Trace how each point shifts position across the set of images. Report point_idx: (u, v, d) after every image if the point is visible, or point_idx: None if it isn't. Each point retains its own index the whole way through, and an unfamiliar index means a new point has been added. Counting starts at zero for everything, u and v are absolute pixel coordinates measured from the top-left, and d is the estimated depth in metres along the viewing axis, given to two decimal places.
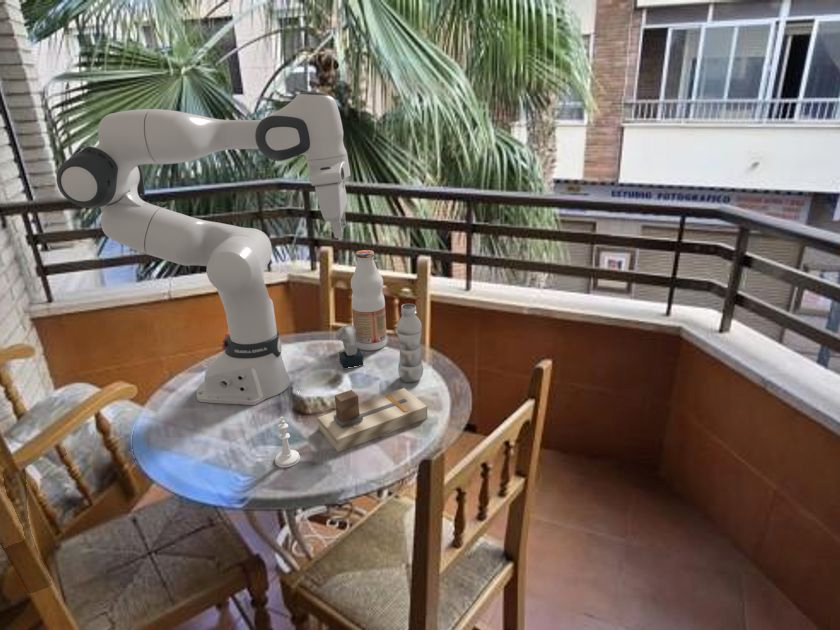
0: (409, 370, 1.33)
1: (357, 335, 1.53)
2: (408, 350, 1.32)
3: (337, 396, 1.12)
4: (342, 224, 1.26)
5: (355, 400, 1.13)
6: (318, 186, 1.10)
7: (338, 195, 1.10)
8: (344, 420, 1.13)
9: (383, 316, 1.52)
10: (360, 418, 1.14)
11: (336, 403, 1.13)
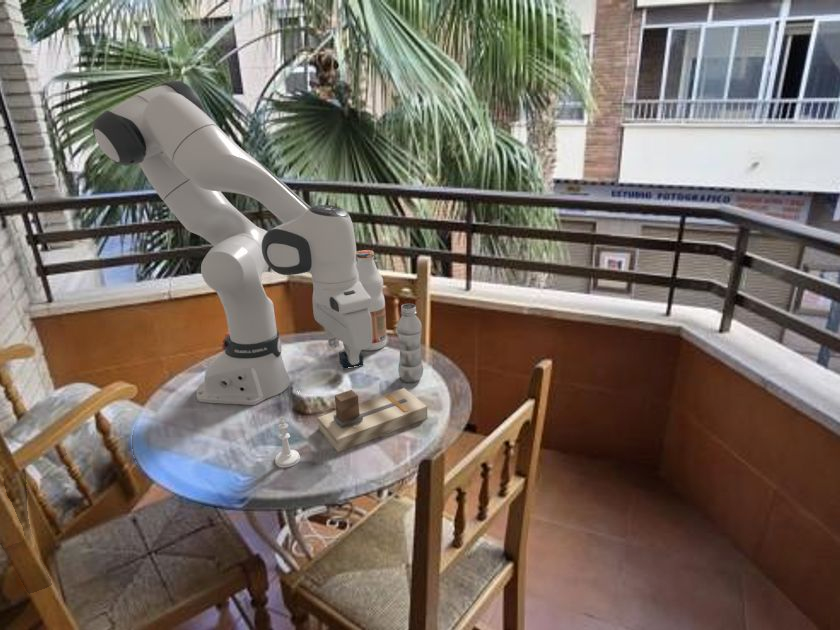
0: (409, 370, 1.33)
1: None
2: (408, 350, 1.32)
3: (337, 396, 1.12)
4: (335, 343, 1.12)
5: (355, 400, 1.13)
6: (347, 314, 0.97)
7: (371, 322, 0.99)
8: (344, 420, 1.13)
9: (383, 316, 1.52)
10: (360, 418, 1.14)
11: (336, 403, 1.13)
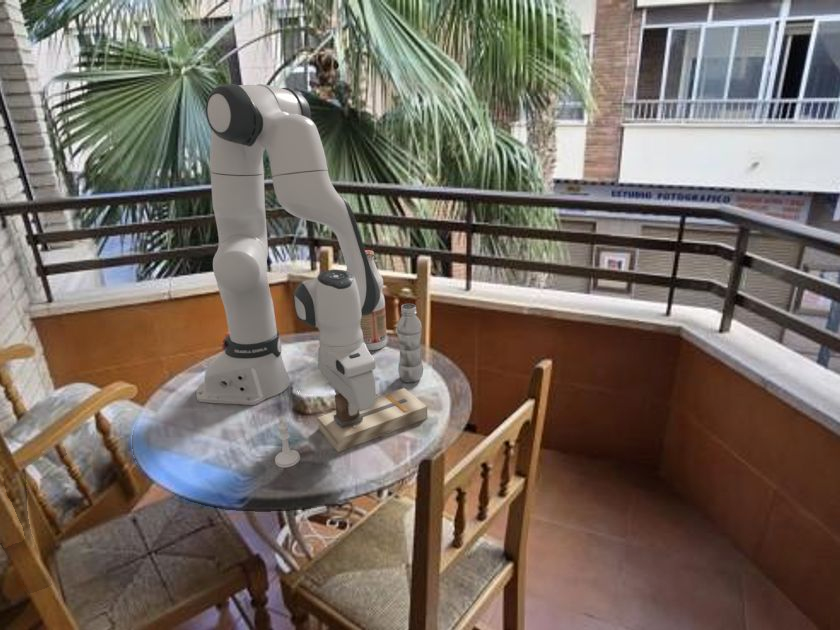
0: (409, 370, 1.33)
1: None
2: (408, 350, 1.32)
3: (337, 396, 1.12)
4: None
5: None
6: (352, 377, 1.02)
7: (374, 384, 1.04)
8: (344, 420, 1.13)
9: (383, 316, 1.52)
10: (360, 418, 1.14)
11: (336, 403, 1.13)
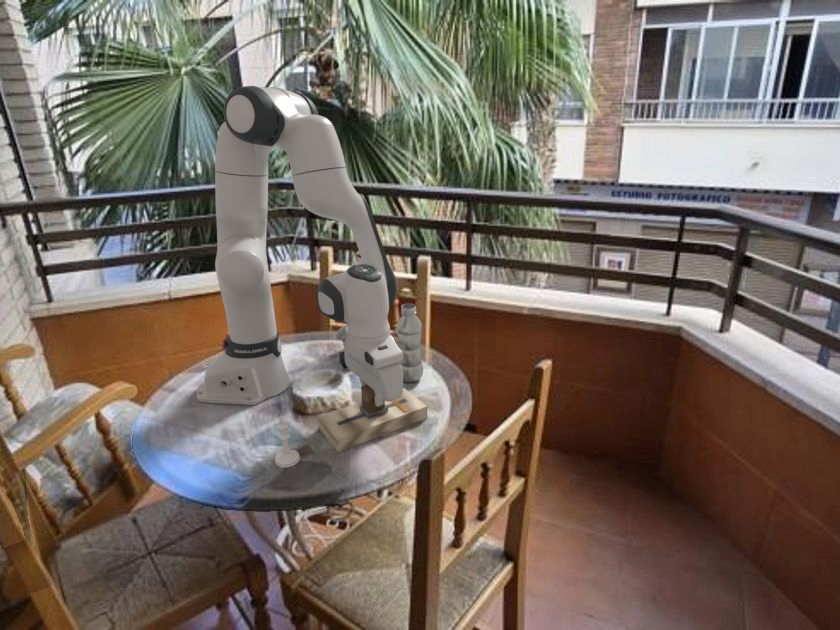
0: (409, 370, 1.33)
1: None
2: (408, 350, 1.32)
3: (363, 387, 1.16)
4: None
5: None
6: (381, 368, 1.05)
7: (402, 375, 1.07)
8: (370, 411, 1.16)
9: None
10: (385, 409, 1.17)
11: (363, 394, 1.16)
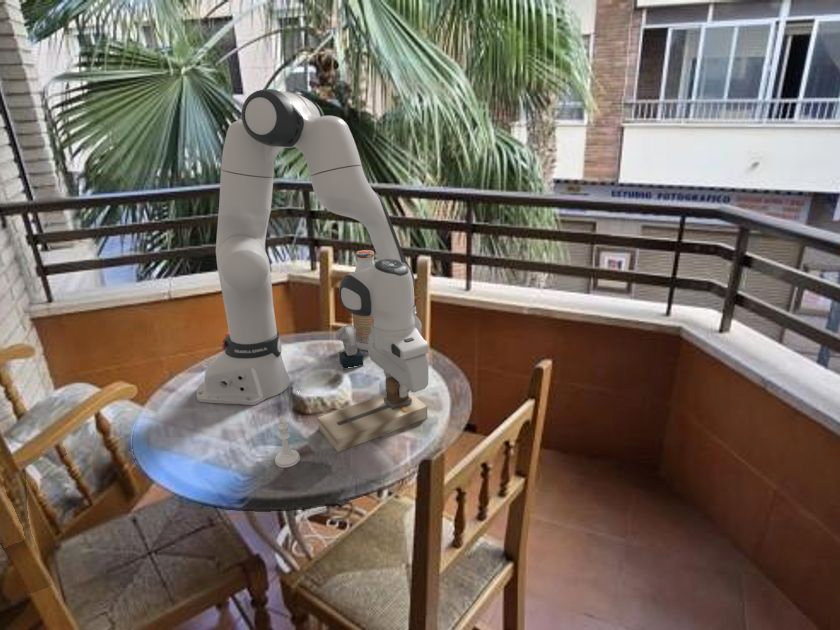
0: None
1: (357, 335, 1.53)
2: None
3: (388, 379, 1.19)
4: None
5: None
6: (408, 359, 1.08)
7: (427, 366, 1.10)
8: (395, 402, 1.19)
9: None
10: (409, 400, 1.20)
11: (387, 386, 1.19)
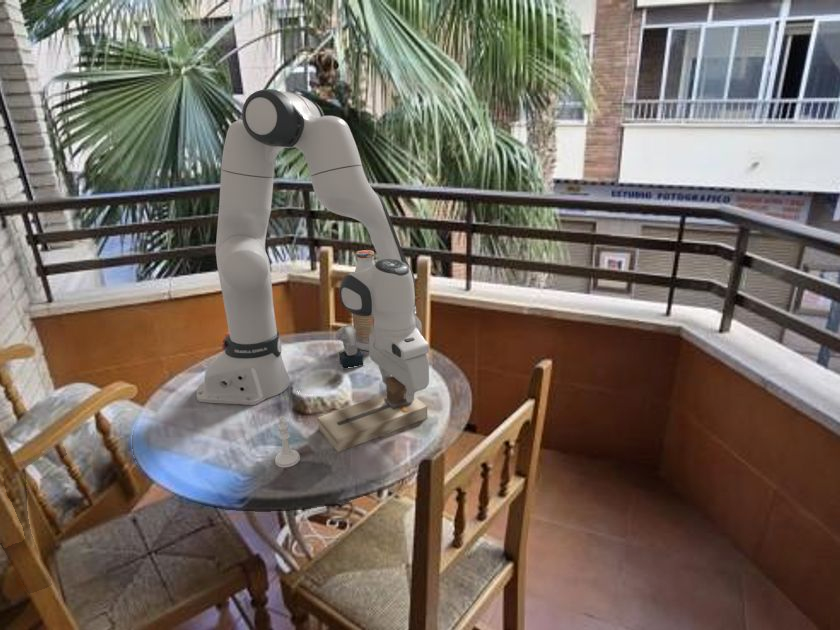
0: None
1: (357, 335, 1.53)
2: None
3: (389, 379, 1.19)
4: None
5: None
6: (408, 359, 1.08)
7: (428, 366, 1.10)
8: (395, 402, 1.19)
9: None
10: None
11: (388, 386, 1.19)
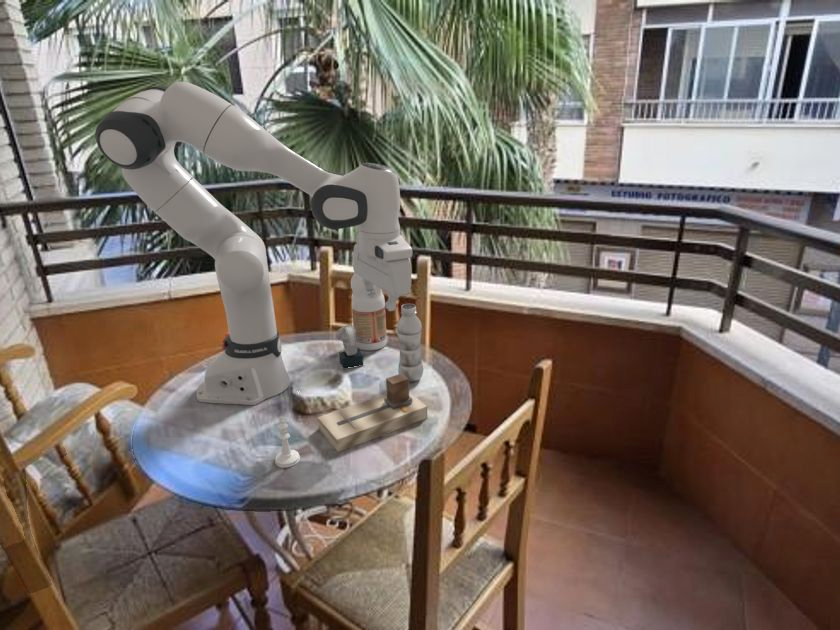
0: (409, 370, 1.33)
1: (357, 335, 1.53)
2: (408, 350, 1.32)
3: (389, 379, 1.19)
4: (372, 294, 1.22)
5: (406, 383, 1.19)
6: (391, 261, 1.07)
7: None
8: (395, 402, 1.19)
9: (383, 316, 1.52)
10: (410, 400, 1.20)
11: (388, 386, 1.19)
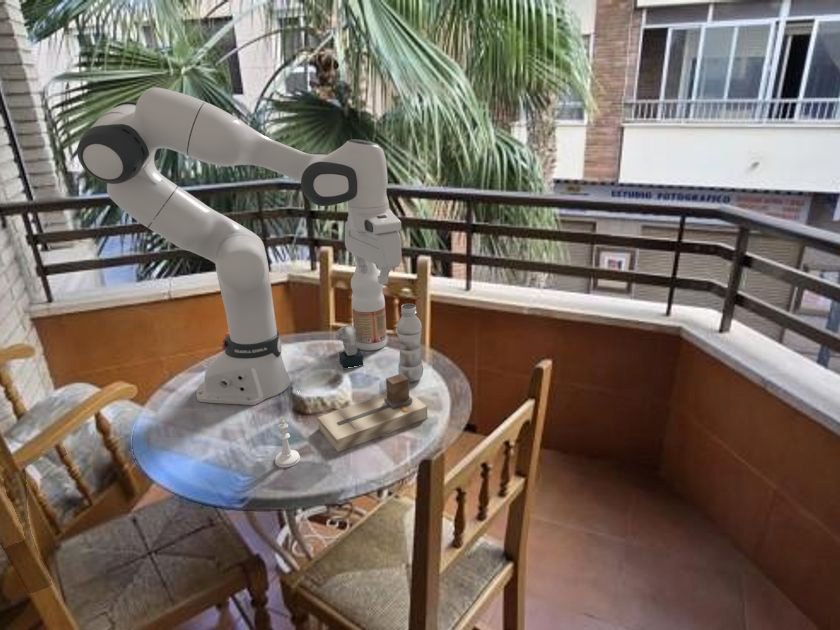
0: (409, 370, 1.33)
1: (357, 335, 1.53)
2: (408, 350, 1.32)
3: (389, 379, 1.19)
4: (365, 270, 1.25)
5: (406, 383, 1.19)
6: (380, 234, 1.10)
7: (400, 243, 1.12)
8: (395, 402, 1.19)
9: (383, 316, 1.52)
10: (410, 400, 1.20)
11: (388, 386, 1.19)
